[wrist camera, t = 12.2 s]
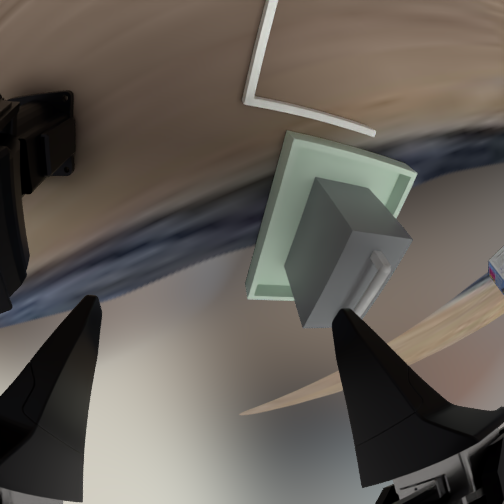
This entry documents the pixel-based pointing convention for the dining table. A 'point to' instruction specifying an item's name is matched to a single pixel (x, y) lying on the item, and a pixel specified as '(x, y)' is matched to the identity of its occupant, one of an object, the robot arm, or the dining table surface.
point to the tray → (296, 195)
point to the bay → (279, 105)
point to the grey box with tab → (342, 252)
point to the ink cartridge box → (497, 269)
